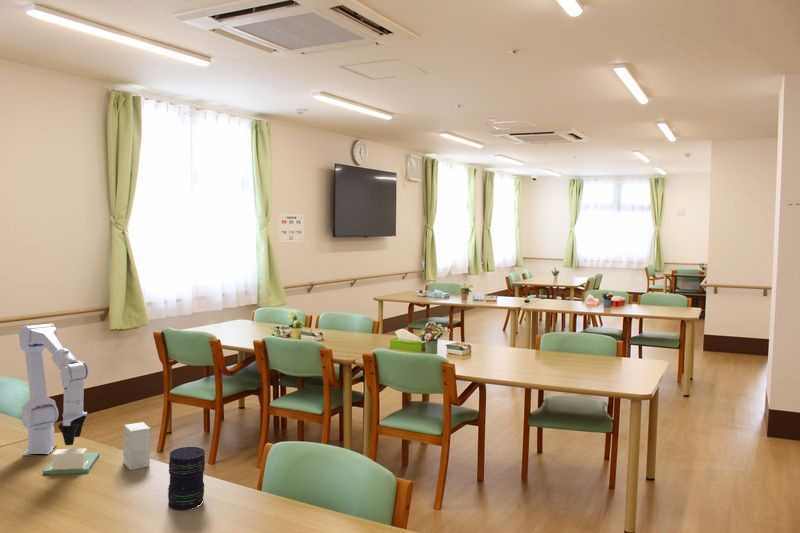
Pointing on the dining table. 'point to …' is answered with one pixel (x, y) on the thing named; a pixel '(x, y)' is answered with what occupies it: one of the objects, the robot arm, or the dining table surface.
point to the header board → (85, 469)
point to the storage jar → (186, 478)
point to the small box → (136, 445)
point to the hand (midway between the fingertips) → (72, 440)
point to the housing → (69, 458)
